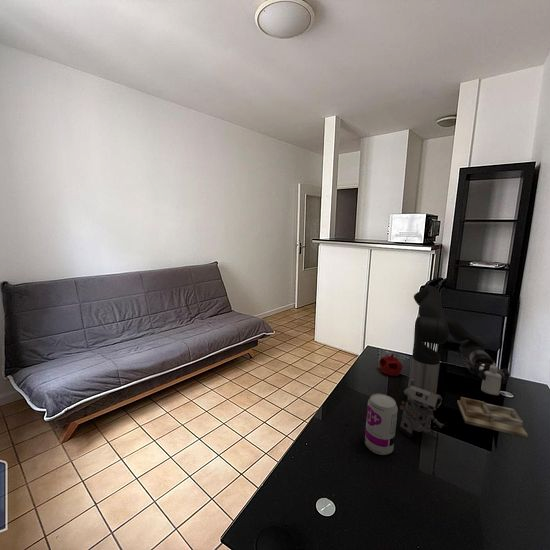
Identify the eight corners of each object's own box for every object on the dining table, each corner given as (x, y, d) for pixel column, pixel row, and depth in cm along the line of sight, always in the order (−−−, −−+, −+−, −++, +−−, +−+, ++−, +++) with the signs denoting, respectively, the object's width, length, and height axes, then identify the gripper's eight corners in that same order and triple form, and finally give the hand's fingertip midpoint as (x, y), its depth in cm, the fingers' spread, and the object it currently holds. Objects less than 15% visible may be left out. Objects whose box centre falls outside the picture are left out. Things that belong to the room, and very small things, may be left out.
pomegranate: (385, 366, 139) (387, 347, 137) (405, 374, 131) (407, 354, 130) (374, 371, 132) (376, 352, 131) (395, 380, 125) (397, 360, 123)
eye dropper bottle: (495, 397, 108) (500, 367, 106) (478, 390, 113) (483, 361, 111) (501, 394, 110) (505, 365, 108) (484, 387, 115) (489, 359, 113)
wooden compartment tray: (465, 423, 98) (466, 415, 97) (457, 402, 110) (458, 395, 109) (527, 437, 91) (528, 429, 91) (511, 414, 103) (512, 406, 103)
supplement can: (375, 459, 81) (379, 410, 79) (359, 438, 89) (362, 394, 86) (399, 454, 83) (404, 406, 81) (381, 434, 91) (386, 390, 89)
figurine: (426, 451, 85) (432, 404, 82) (395, 427, 95) (399, 385, 92) (446, 441, 89) (452, 397, 86) (413, 419, 99) (418, 379, 96)
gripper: (463, 350, 126) (473, 366, 110) (503, 356, 120) (519, 374, 105) (461, 366, 127) (470, 384, 111) (500, 373, 121) (516, 393, 106)
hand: (494, 379), depth 108 cm, fingers closed on eye dropper bottle, 5 cm apart
